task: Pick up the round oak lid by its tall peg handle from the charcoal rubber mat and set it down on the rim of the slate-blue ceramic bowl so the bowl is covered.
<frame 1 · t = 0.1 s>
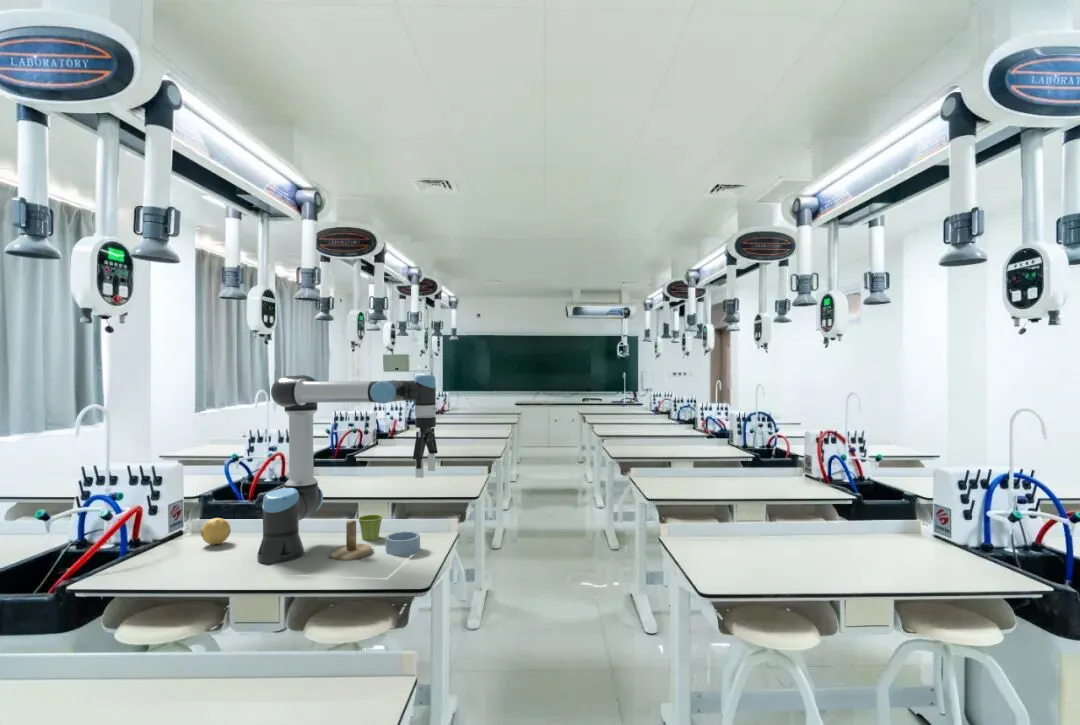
hand: (425, 474, 213), 28 cm above the table, fingers open, 13 cm apart
lid: (351, 553, 207), resting on mat
bowl: (402, 551, 211), on the table
potato: (215, 545, 221), on the table
plant pot: (370, 540, 226), on the table
mat: (351, 554, 207), on the table
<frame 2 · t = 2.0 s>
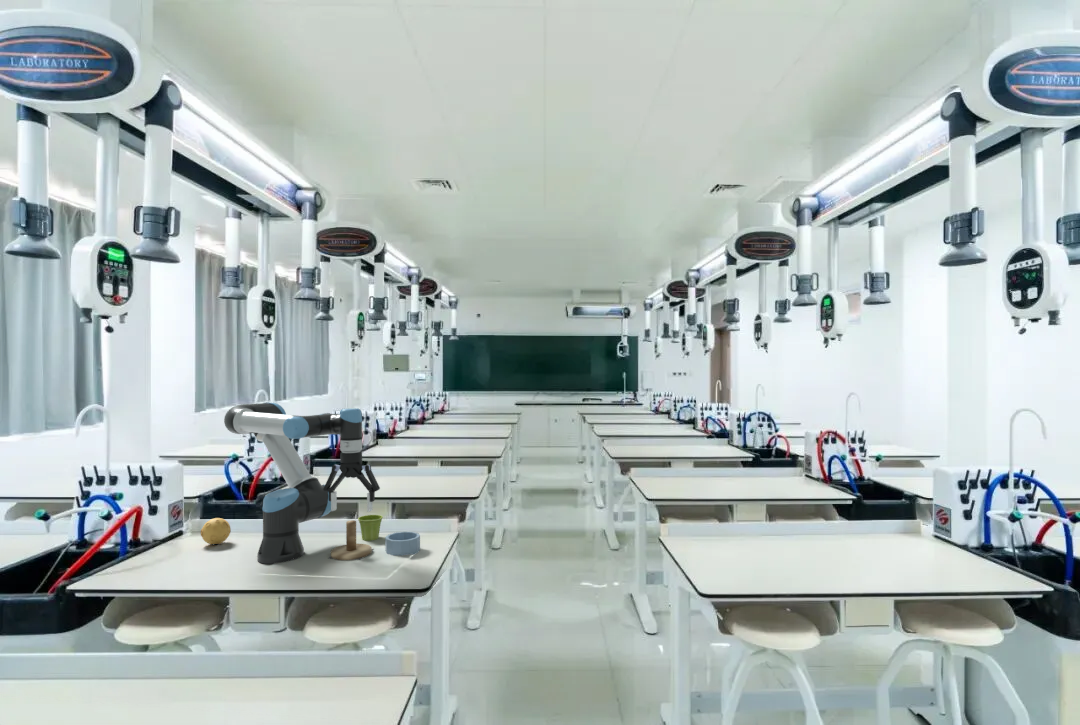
hand: (351, 510, 208), 16 cm above the table, fingers open, 13 cm apart
nothing on the table moved.
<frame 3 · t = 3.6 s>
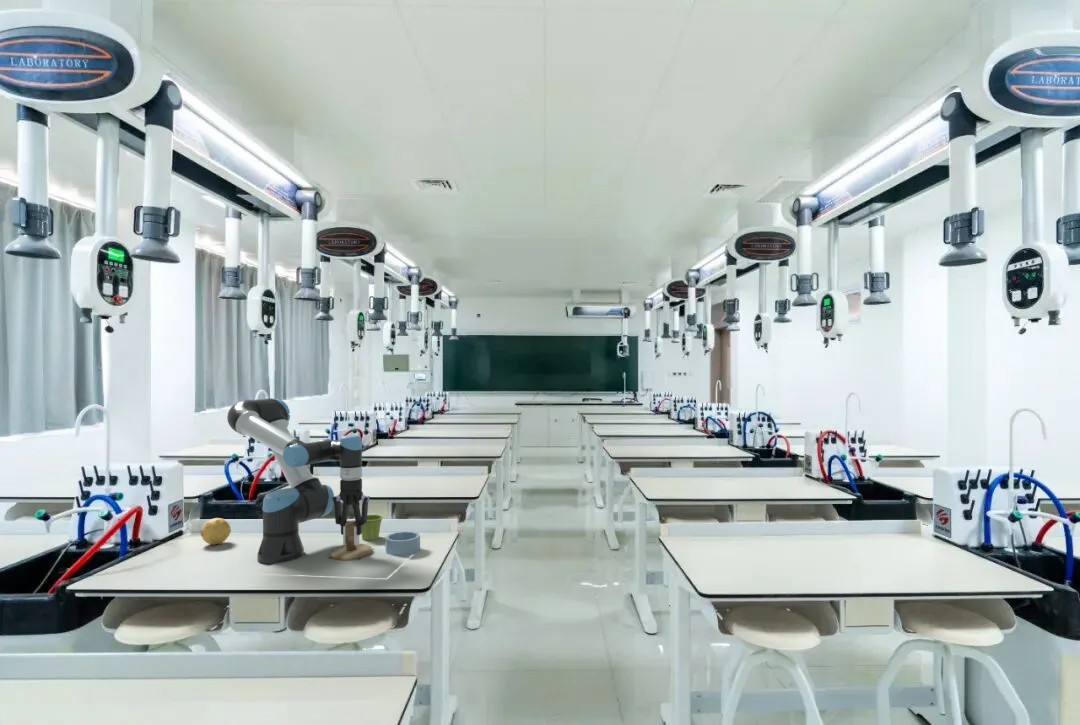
hand: (351, 543, 208), 4 cm above the table, fingers closed on lid, 3 cm apart
lid: (351, 553, 207), point 1 cm above the table, touching gripper, mat
everything else where it was.
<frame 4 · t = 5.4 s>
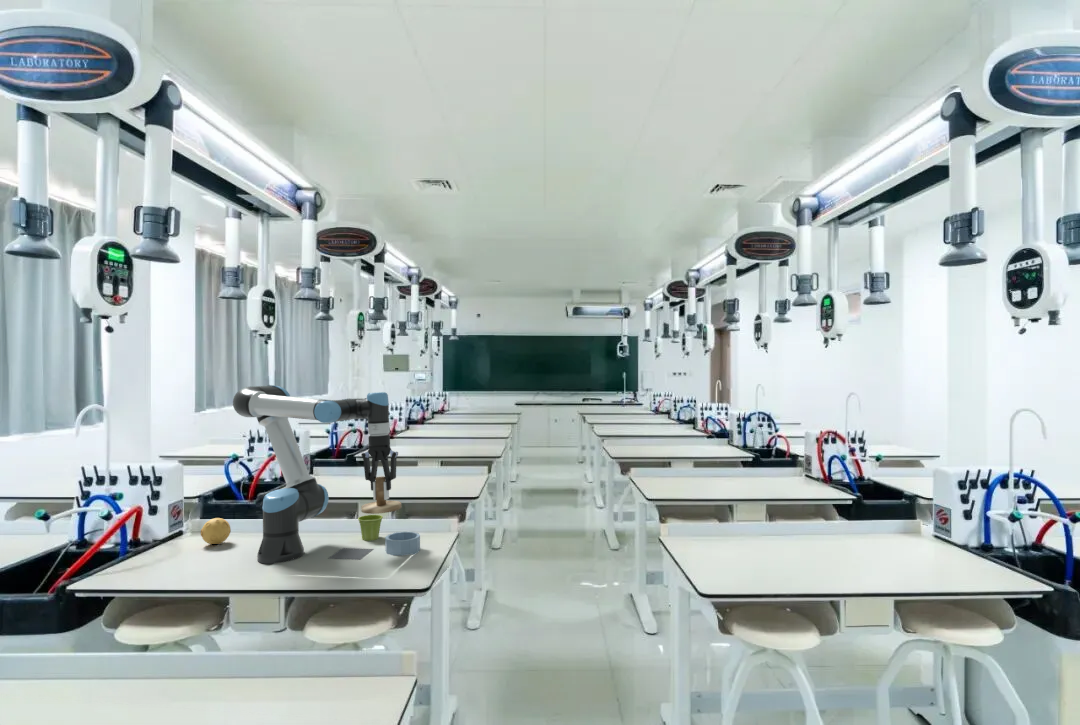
hand: (381, 499, 209), 20 cm above the table, fingers closed on lid, 3 cm apart
lid: (381, 509, 209), point 16 cm above the table, touching gripper
everything else where it was.
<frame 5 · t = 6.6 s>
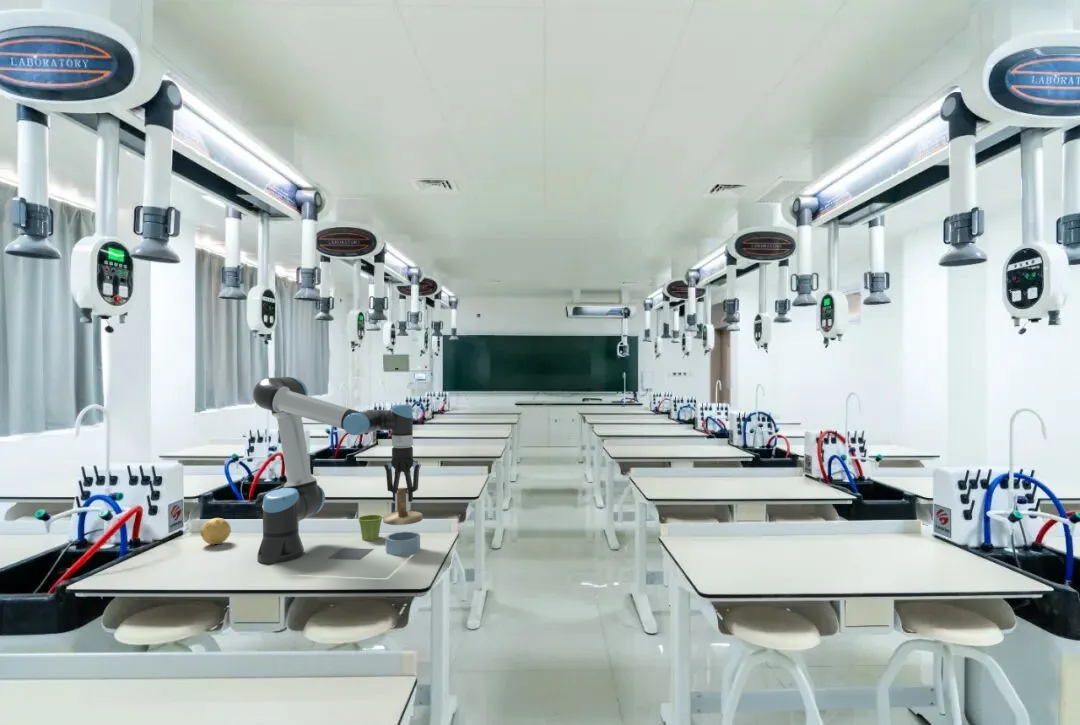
hand: (402, 510, 212), 15 cm above the table, fingers closed on lid, 3 cm apart
lid: (402, 519, 211), point 11 cm above the table, touching gripper
everything else where it was.
when the fingers open (11 cm above the table, at t = 7.5 s): lid drops 2 cm, resting on bowl.
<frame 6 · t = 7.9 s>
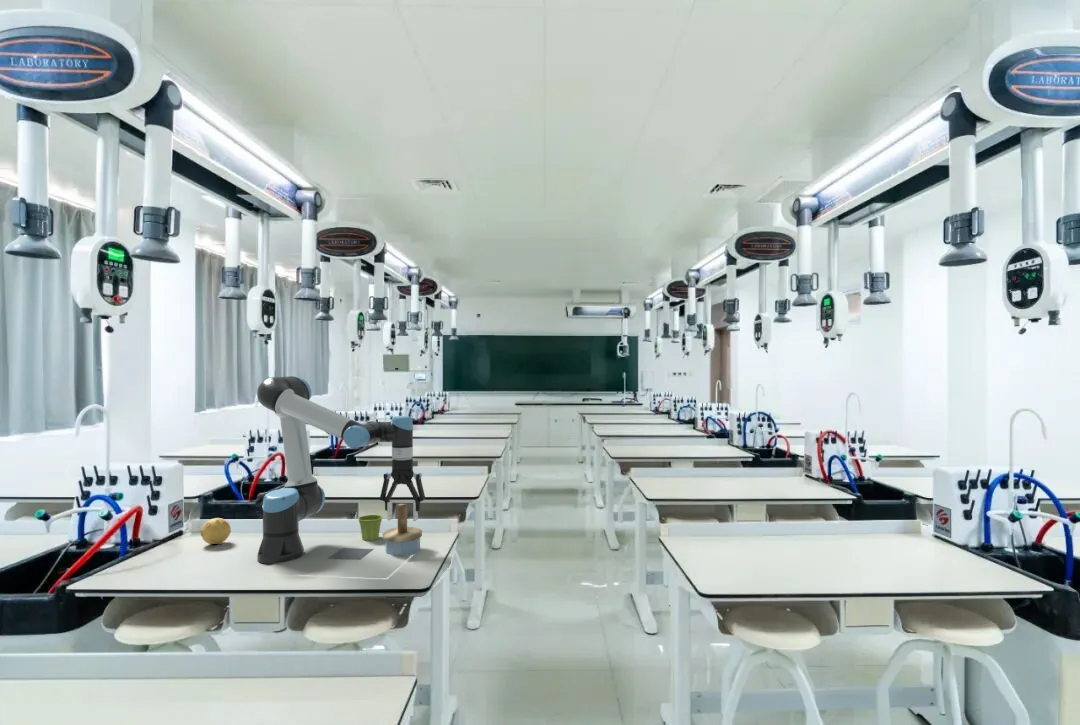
hand: (402, 519, 212), 12 cm above the table, fingers open, 9 cm apart
lid: (402, 536, 211), point 5 cm above the table, touching bowl
everything else where it was.
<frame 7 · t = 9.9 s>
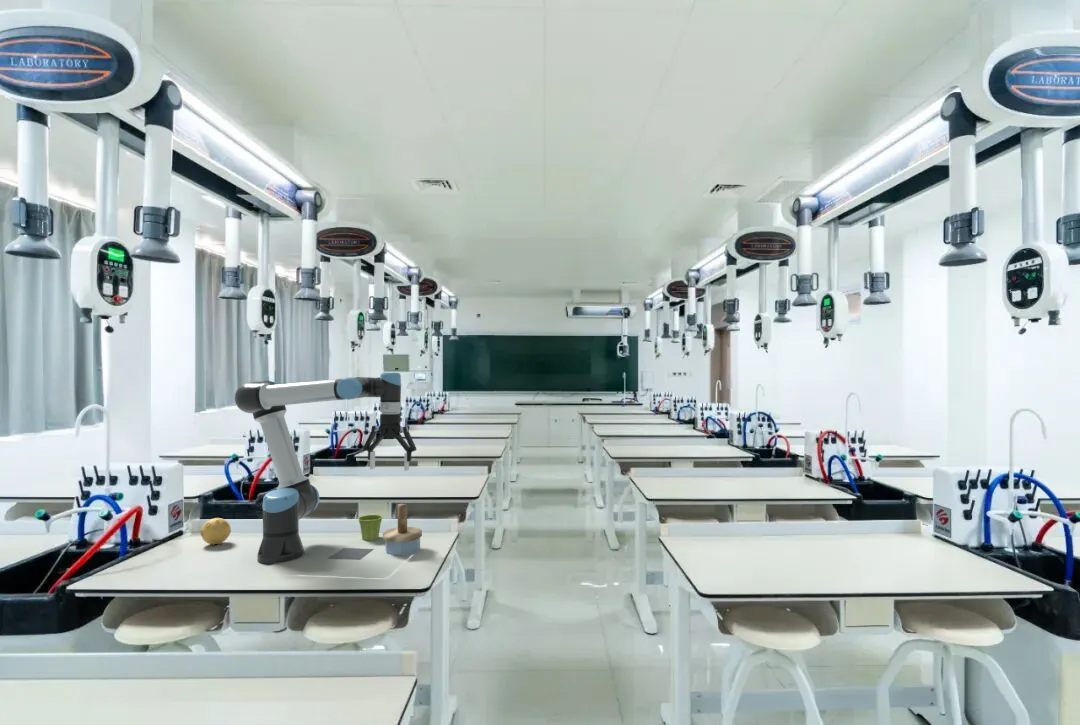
hand: (389, 469, 218), 29 cm above the table, fingers open, 13 cm apart
nothing on the table moved.
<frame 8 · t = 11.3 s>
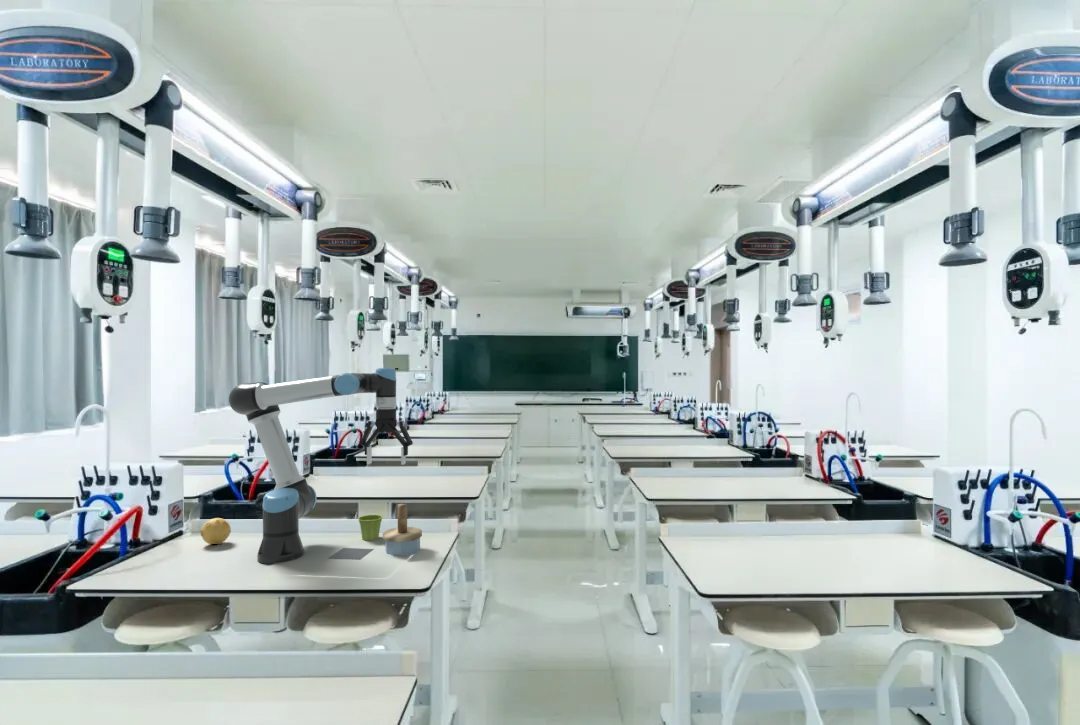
hand: (386, 464, 220), 31 cm above the table, fingers open, 13 cm apart
nothing on the table moved.
at the end: lid 0.1 cm off-centre on the bowl, point 5.5 cm above the bowl's base; lid tilted 0°; the gripper is holding nothing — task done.
